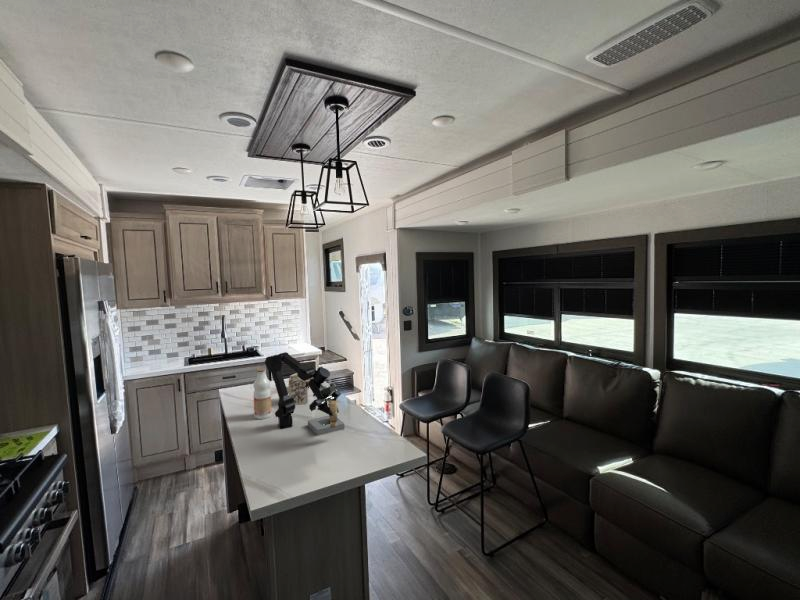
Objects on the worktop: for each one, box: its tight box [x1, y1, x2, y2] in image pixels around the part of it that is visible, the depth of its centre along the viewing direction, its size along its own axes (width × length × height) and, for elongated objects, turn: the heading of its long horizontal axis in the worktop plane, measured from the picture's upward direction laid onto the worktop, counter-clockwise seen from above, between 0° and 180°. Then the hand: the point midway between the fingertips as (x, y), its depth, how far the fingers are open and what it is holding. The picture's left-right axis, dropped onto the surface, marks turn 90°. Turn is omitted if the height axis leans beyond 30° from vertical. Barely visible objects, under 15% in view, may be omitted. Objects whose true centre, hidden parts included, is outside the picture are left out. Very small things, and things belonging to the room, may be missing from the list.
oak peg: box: [328, 400, 339, 428], centre depth 185 cm, size 4×4×12 cm
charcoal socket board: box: [307, 415, 345, 436], centre depth 200 cm, size 15×15×3 cm
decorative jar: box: [288, 373, 309, 405], centre depth 240 cm, size 12×12×18 cm
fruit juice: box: [253, 367, 273, 420], centre depth 216 cm, size 9×9×28 cm
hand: (335, 414), depth 184 cm, fingers closed on oak peg, 4 cm apart
